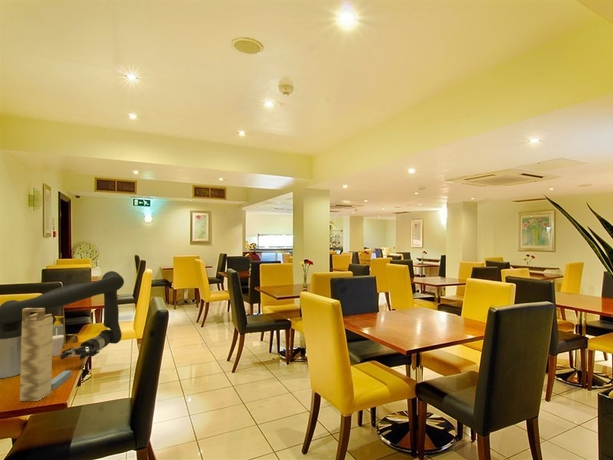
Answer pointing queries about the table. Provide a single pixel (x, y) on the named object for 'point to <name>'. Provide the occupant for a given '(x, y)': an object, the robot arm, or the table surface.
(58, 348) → the smoothie
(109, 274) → the robot arm
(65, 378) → the bar
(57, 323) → the soap bottle
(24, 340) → the tall patterned tan block
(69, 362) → the table surface
